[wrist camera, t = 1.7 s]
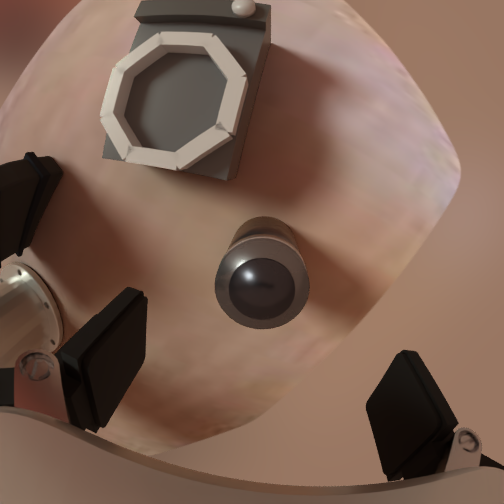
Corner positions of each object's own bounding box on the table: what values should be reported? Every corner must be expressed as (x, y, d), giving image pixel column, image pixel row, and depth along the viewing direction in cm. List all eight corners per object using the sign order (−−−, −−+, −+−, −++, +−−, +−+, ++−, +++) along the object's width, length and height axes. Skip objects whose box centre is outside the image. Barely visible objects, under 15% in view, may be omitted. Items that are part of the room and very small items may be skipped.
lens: (286, 284, 24) (294, 340, 16) (225, 269, 24) (205, 319, 16) (304, 225, 22) (323, 257, 14) (239, 208, 22) (223, 232, 14)
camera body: (235, 177, 21) (221, 181, 15) (133, 158, 21) (87, 158, 15) (270, 42, 18) (270, 0, 11) (168, 32, 18) (137, -3, 11)
